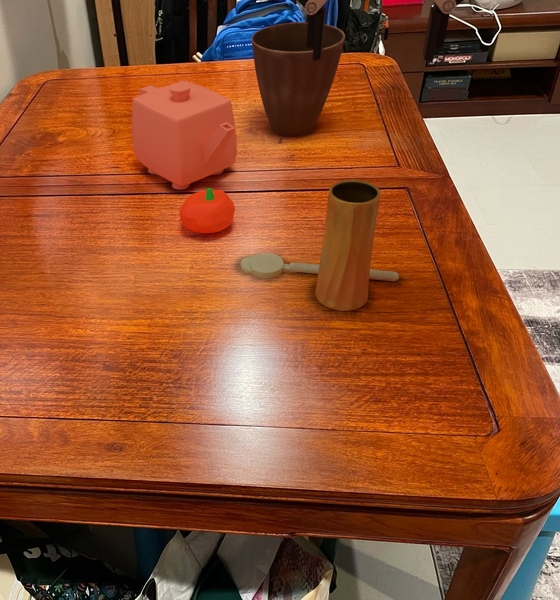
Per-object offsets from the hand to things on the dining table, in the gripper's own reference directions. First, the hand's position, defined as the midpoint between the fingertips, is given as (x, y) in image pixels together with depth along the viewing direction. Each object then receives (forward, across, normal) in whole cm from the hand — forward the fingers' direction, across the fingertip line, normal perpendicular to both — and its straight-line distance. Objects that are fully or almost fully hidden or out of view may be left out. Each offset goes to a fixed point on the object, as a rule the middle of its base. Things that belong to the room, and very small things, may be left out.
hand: (371, 56), depth 57 cm
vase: (+28, 0, 0) cm, 29 cm away
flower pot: (+28, -11, +46) cm, 55 cm away
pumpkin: (+28, -19, +12) cm, 36 cm away
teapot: (+28, -26, +28) cm, 48 cm away
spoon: (+28, -3, +4) cm, 29 cm away
